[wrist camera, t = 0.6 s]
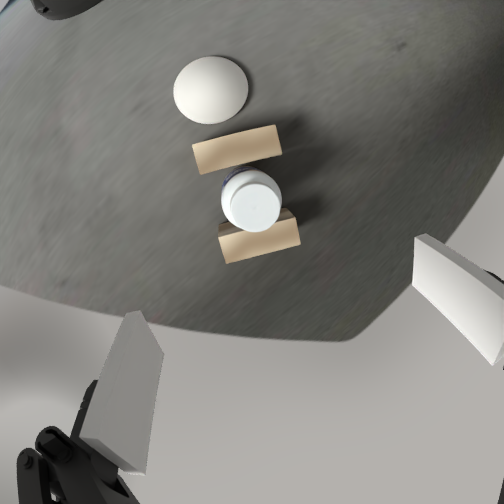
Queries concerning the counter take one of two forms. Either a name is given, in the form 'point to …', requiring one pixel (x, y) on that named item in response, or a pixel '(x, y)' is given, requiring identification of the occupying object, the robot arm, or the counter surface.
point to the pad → (210, 90)
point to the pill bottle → (251, 199)
